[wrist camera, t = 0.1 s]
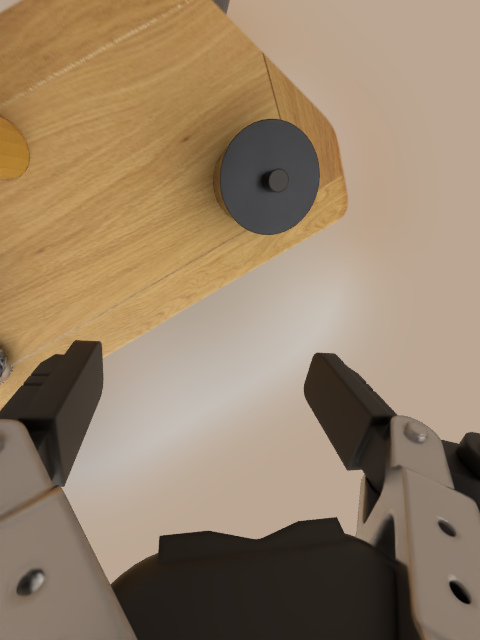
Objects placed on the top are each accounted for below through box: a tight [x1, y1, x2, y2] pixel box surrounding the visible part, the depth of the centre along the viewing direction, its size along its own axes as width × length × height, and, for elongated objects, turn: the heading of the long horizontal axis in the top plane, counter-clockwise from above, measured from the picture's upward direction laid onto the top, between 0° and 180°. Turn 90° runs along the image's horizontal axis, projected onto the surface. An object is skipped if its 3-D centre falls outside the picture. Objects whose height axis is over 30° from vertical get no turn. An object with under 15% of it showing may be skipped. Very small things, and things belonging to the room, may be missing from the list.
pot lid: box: [219, 119, 320, 235], centre depth 27 cm, size 10×10×4 cm
